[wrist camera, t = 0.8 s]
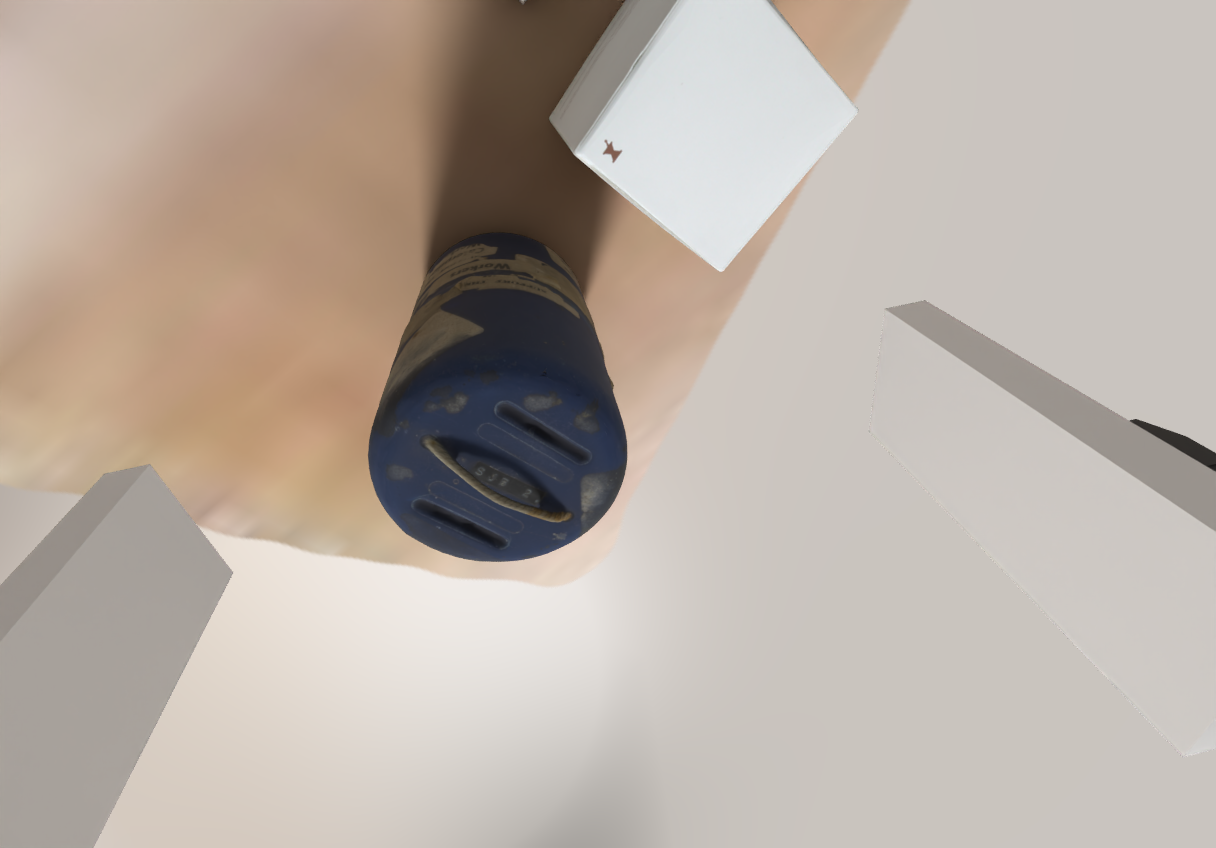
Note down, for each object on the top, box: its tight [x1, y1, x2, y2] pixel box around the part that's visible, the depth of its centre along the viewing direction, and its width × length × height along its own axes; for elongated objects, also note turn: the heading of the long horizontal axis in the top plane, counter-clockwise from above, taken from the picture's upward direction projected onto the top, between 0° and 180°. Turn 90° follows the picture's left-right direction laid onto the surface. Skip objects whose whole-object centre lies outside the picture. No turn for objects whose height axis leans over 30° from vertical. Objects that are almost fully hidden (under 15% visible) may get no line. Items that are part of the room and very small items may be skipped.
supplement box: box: [549, 0, 858, 272], centre depth 25 cm, size 7×7×13 cm
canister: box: [368, 233, 627, 562], centre depth 27 cm, size 10×10×18 cm
